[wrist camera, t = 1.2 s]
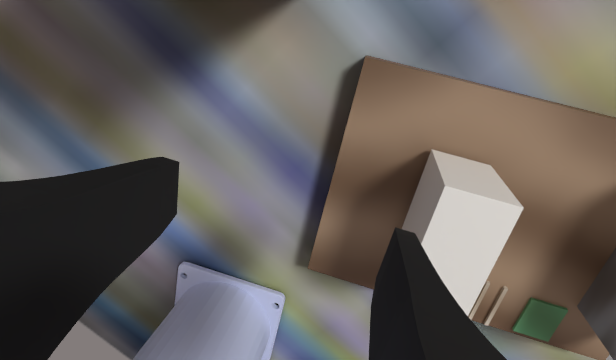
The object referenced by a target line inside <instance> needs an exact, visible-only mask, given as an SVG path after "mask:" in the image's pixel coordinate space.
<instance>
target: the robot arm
mask: <svg viewBox="0 0 616 360" xmlns="http://www.w3.org/2000/svg"><path fill="white" fill-rule="evenodd" d="M178 177H179V162H178V161H174V160H171V159H168V158H165V157H156V158H149V159H144V160H138V161H134V162H129V163H124V164H120V165H115V166H110V167H105V168H101V169H96V170H90V171H85V172H79V173H74V174H68V175H62V176H56V177H49V178H41V179H32V180H22V181H10V182H0V360H47V359H48V358H49V357H50V356H51V354H52V353H53V351H54V350H55V349H56V347H57V346H58V345H59V344H60V342H61V341H62V340H63V339H64V337H65V336H66V335H67V334H68V332H69V331H70V330H71V329H72V327H73V326H74V325H75V324H76V322H77V321H78V320H79V319H80V318H81V316H82V315H83V314H84V313H85V312H86V310H87V309H88V308H89V307H90V306H91V305H92V303H93V302H94V301H95V300H96V299H97V297H98V296H99V295H100V294H101V293H102V292H103V291H104V290H105V289H106V288H107V287H108V286H109V285H110V284H111V283H112V282H113V281H114V280H115V279H116V278H117V277H118V276H119V275H120V274H121V273H122V272H123V271H124V270H125V269H126V268H127V267H128V266H129V265H130V264H131V263H133V262H134V261H135V260H136V259H137V258H138V257H139V256H140V255H141V254H142V253H143V252H144V251H145V250H146V249H147V248H148V247H149V246H150V245H151V244H152V243H153V242H154V241H155V240H156V239H157V238H158V237H159V236H160V235H161V234H162V233H163V231H164V230H165V229H166V228H167V226H168V225H169V224H170V222H171V221H172V220H173V218H174V217H175V216H176V214H177V197H178ZM184 273H185V274H186V275H187V276H186V275H184ZM284 302H285V296H284V294H283V293H281V292H279V291H276V290H273V289H269V288H266V287H263V286H260V285H257V284H254V283H251V282H248V281H245V280H242V279H239V278H235V277H232V276H229V275H226V274H223V273H220V272H217V271H214V270H211V269H208V268H204V267H201V266H198V265H195V264H192V263H189V262H182V263H181V264H180V265H179V267H178V276H177V286H176V296H175V306H174V307H173V309H172V310H171V311H170V312H169V314H168V315H167V316H166V317H165V319H164V320H163V321H162V323H161V324H160V325H159V326H158V328H157V329H156V330H155V331H154V333H153V334H152V335H151V337H150V338H149V339H148V340H147V342H146V343H145V344H144V345H143V347H142V348H141V349H140V350H139V352H138V353H137V354H136V356H135V357H134V358H133V359H132V360H270V358H271V354H272V350H273V346H274V342H275V338H276V334H277V330H278V326H279V322H280V318H281V314H282V310H283V306H284ZM274 303H277V304H279V305H276V304H274ZM369 360H507V359H506V358H505V357H504V356H503V355H502V354H501V353H500V352H499V351H498V350H497V349H496V348H495V347H494V346H493V345H492V344H491V343H490V342H489V341H488V340H487V338H486V337H485V336H484V335H483V334H482V333H481V332H480V331H479V329H478V328H477V327H476V326H475V324H474V323H473V322H472V321H471V320H470V318H469V317H468V316H467V315H466V314H465V312H464V311H463V310H462V308H461V307H460V306H459V304H458V303H457V302H456V300H455V299H454V297H453V296H452V294H451V293H450V292H449V290H448V289H447V287H446V286H445V284H444V283H443V281H442V280H441V278H440V276H439V275H438V273H437V271H436V270H435V268H434V266H433V265H432V263H431V261H430V260H429V258H428V256H427V254H426V252H425V250H424V249H423V247H422V245H421V243H420V241H419V239H418V238H417V236H416V234H415V233H413V232H409V231H406V230H403V229H399V228H396V227H395V229H394V232H393V234H392V237H391V240H390V242H389V245H388V247H387V250H386V253H385V255H384V258H383V261H382V263H381V266H380V269H379V271H378V274H377V276H376V281H375V286H374V292H373V298H372V304H371V320H370V344H369Z"/></svg>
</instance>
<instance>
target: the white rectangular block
mask: <svg viewBox="0 0 616 360" xmlns="http://www.w3.org/2000/svg"><path fill="white" fill-rule="evenodd" d="M523 208H524V207H523V206H522V205H521V203H520V202H519V201H518V200H517V198H516V197H515V196H514V194H513V193H512V192H511V191H510V189H509V188H508V187H507V185H506V184H505V183H504V182H503V180H502V179H501V178H500V176H499V175H498V174H497V173H496V171H495V170H494V169H493V167H492V166H491V165H488V164H484V163H480V162H477V161H473V160H469V159H466V158H462V157H458V156H455V155H451V154H447V153H444V152H440V151H436V150H432V149H431V152H430V155H429V157H428V160H427V163H426V165H425V168H424V171H423V173H422V176H421V179H420V181H419V184H418V187H417V189H416V192H415V195H414V197H413V200H412V203H411V205H410V208H409V211H408V213H407V216H406V219H405V221H404V224H403V227H402V229H403V230H406V231H409V232H413V233H415V234H416V236H417V238H418V239H419V241H420V243H421V245H422V247H423V249H424V250H425V252H426V254H427V256H428V258H429V260H430V261H431V263H432V265H433V266H434V268H435V270H436V271H437V273H438V275H439V276H440V278H441V280H442V281H443V283H444V284H445V286H446V287H447V289H448V290H449V292H450V293H451V294H452V296H453V297H454V299H455V300H456V302H457V303H458V304H459V306H460V307H461V308H462V310H463V311H464V312H465V314H466V315H467V316H468V315H469V313H470V311H471V309H472V307H473V305H474V303H475V301H476V299H477V297H478V296H479V294H480V292H481V290H482V288H483V286H484V284H485V282H486V280H487V278H488V276H489V274H490V272H491V270H492V268H493V267H494V265H495V263H496V261H497V259H498V257H499V255H500V253H501V251H502V249H503V247H504V245H505V243H506V241H507V239H508V237H509V236H510V234H511V232H512V230H513V228H514V226H515V224H516V222H517V220H518V218H519V216H520V214H521V212H522V210H523Z"/></svg>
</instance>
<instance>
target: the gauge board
mask: <svg viewBox="0 0 616 360" xmlns="http://www.w3.org/2000/svg"><path fill="white" fill-rule="evenodd" d="M431 149H432V150H436V151H440V152H444V153H447V154H451V155H455V156H458V157H462V158H466V159H469V160H473V161H477V162H480V163H484V164H488V165H491V166H492V167H493V169H494V170H495V171H496V173H497V174H498V175H499V176H500V178H501V179H502V180H503V182H504V183H505V184H506V185H507V187H508V188H509V189H510V191H511V192H512V193H513V194H514V196H515V197H516V198H517V200H518V201H519V202H520V203H521V205H522V206H523V207H524V208H523V210H522V212H521V214H520V216H519V218H518V220H517V222H516V224H515V226H514V228H513V230H512V232H511V234H510V236H509V237H508V239H507V241H506V243H505V245H504V247H503V249H502V251H501V253H500V255H499V257H498V259H497V261H496V263H495V265H494V267H493V268H492V270H491V272H490V274H489V276H488V278H487V280H486V282H485V284H484V286H483V288H482V290H481V292H480V294H479V296H478V297H477V299H476V301H475V303H474V305H473V307H472V309H471V311H470V313H469V315H468V317H469V318H470V320H473V321H476V322H479V323H483V324H484V325H487V326H488V325H489V326H492V327H495V328H498V329H502V330H505V331H508V332H511V333H514V334H518V335H521V336H524V337H527V338H530V339H533V340H537V341H540V342H543V343H546V344H549V345H553V346H556V347H559V348H562V349H565V350H569V351H572V352H575V353H578V354H581V355H584V356H588V357H591V358H594V359H597V360H606V358H607V357H608V356H609V354H610V355H611V357H612V358H613V359H614V360H616V118H615V117H611V116H607V115H603V114H599V113H595V112H591V111H587V110H583V109H579V108H575V107H571V106H567V105H563V104H559V103H555V102H551V101H547V100H543V99H539V98H535V97H531V96H527V95H523V94H519V93H515V92H511V91H507V90H503V89H499V88H495V87H491V86H487V85H483V84H479V83H475V82H471V81H467V80H463V79H459V78H455V77H451V76H447V75H443V74H439V73H435V72H431V71H427V70H423V69H419V68H415V67H411V66H407V65H403V64H399V63H395V62H391V61H387V60H383V59H379V58H375V57H371V56H366V57H365V59H364V63H363V66H362V70H361V74H360V77H359V81H358V85H357V89H356V92H355V96H354V100H353V103H352V107H351V111H350V114H349V118H348V122H347V125H346V129H345V133H344V136H343V140H342V144H341V147H340V151H339V155H338V158H337V162H336V166H335V170H334V173H333V177H332V181H331V184H330V188H329V192H328V195H327V199H326V203H325V206H324V210H323V214H322V217H321V221H320V225H319V228H318V232H317V236H316V239H315V243H314V247H313V251H312V254H311V258H310V262H309V265H308V269H311V270H314V271H317V272H320V273H323V274H327V275H330V276H333V277H336V278H339V279H342V280H346V281H349V282H352V283H355V284H358V285H362V286H365V287H368V288H371V289H374V286H375V281H376V276H377V274H378V271H379V269H380V266H381V263H382V261H383V258H384V255H385V253H386V250H387V247H388V245H389V242H390V240H391V237H392V234H393V232H394V229H395V227H396V228H399V229H402V227H403V224H404V221H405V219H406V216H407V213H408V211H409V208H410V205H411V203H412V200H413V197H414V195H415V192H416V189H417V187H418V184H419V181H420V179H421V176H422V173H423V171H424V168H425V165H426V163H427V160H428V157H429V155H430V152H431Z"/></svg>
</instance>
